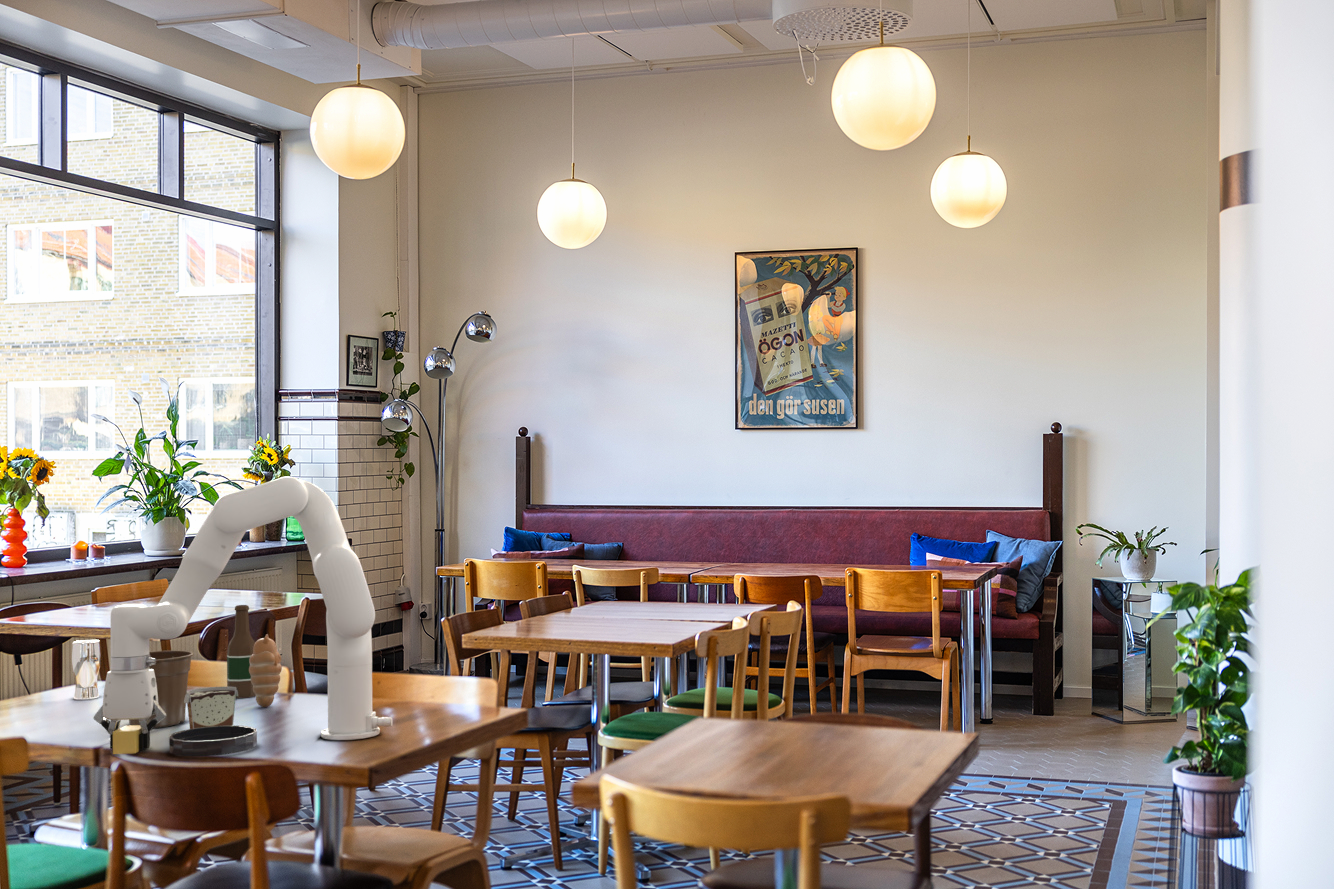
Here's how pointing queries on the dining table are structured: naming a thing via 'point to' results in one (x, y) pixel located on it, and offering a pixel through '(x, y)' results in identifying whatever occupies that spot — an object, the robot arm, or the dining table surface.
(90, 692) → the beer glass
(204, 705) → the food container
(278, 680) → the tan ribbed tapered piece
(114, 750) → the cheese
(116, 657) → the robot arm
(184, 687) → the plant pot
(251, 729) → the round cake pan
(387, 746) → the dining table surface
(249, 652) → the beer bottle
